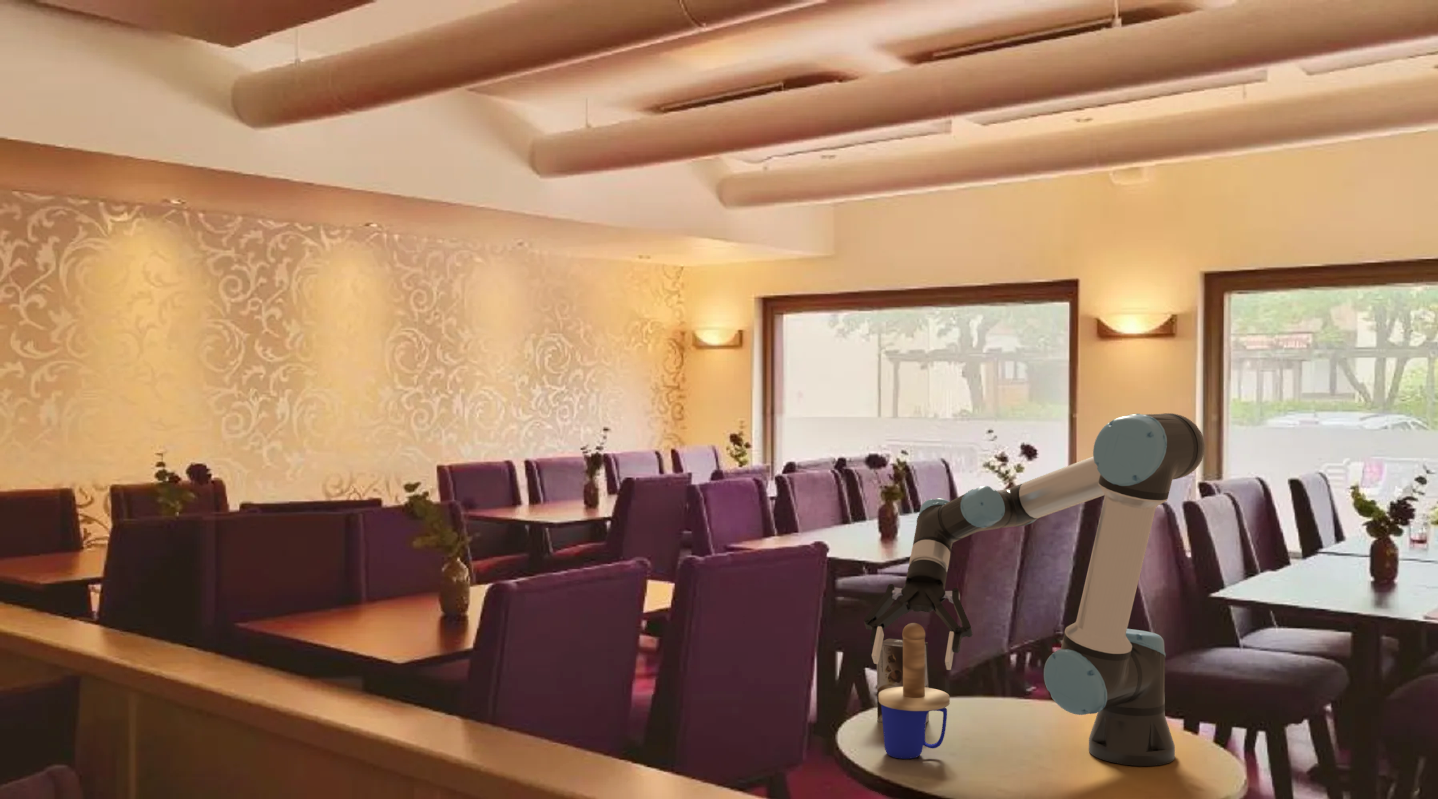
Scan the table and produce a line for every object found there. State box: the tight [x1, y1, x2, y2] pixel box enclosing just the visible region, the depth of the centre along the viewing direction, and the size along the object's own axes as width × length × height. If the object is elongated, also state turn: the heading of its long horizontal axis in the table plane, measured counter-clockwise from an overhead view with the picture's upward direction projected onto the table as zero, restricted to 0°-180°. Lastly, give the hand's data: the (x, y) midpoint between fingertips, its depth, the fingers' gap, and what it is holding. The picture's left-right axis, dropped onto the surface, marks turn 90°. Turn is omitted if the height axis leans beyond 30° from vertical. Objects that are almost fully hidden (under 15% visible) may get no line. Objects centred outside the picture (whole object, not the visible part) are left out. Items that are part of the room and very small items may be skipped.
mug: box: [881, 704, 948, 760], centre depth 227 cm, size 8×12×10 cm
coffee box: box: [876, 638, 930, 723], centre depth 250 cm, size 9×6×16 cm
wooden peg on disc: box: [879, 622, 951, 712], centre depth 227 cm, size 13×13×15 cm
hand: (910, 663), depth 225 cm, fingers open, 13 cm apart
